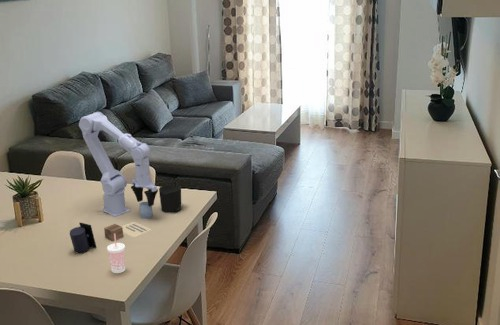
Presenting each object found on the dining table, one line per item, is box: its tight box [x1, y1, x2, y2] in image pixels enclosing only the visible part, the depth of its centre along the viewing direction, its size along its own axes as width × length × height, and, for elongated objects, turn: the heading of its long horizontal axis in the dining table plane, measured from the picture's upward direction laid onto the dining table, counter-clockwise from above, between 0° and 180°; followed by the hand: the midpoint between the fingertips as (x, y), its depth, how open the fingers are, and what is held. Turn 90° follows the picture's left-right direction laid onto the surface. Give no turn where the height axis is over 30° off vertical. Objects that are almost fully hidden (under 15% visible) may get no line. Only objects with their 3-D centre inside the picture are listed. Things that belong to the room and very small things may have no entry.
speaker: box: [69, 222, 97, 254], centre depth 206 cm, size 8×6×10 cm
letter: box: [121, 221, 152, 238], centre depth 223 cm, size 12×9×1 cm
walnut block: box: [103, 223, 124, 242], centre depth 216 cm, size 5×5×4 cm
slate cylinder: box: [139, 201, 153, 220], centre depth 233 cm, size 5×5×6 cm
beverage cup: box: [106, 233, 126, 274], centre depth 190 cm, size 6×6×14 cm
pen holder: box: [158, 184, 182, 214], centre depth 240 cm, size 9×9×10 cm
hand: (145, 203), depth 232 cm, fingers open, 7 cm apart
